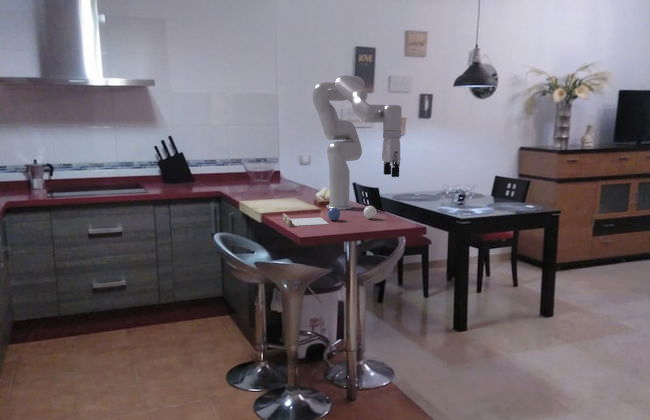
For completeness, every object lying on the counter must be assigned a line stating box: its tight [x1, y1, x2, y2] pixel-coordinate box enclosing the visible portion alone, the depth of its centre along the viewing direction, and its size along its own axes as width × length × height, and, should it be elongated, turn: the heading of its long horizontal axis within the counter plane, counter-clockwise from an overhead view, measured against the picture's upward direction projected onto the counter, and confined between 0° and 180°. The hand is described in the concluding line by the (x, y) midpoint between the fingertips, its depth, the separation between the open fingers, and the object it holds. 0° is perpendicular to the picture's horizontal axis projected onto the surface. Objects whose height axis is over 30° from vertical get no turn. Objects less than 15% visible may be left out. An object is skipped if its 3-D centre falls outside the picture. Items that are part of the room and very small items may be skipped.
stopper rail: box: [282, 213, 293, 228], centre depth 220 cm, size 16×1×2 cm, turn 14°
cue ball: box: [363, 205, 377, 220], centre depth 229 cm, size 6×6×6 cm
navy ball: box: [326, 208, 341, 222], centre depth 225 cm, size 6×6×6 cm
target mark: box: [290, 217, 330, 227], centre depth 223 cm, size 14×14×1 cm
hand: (391, 175), depth 228 cm, fingers open, 8 cm apart
